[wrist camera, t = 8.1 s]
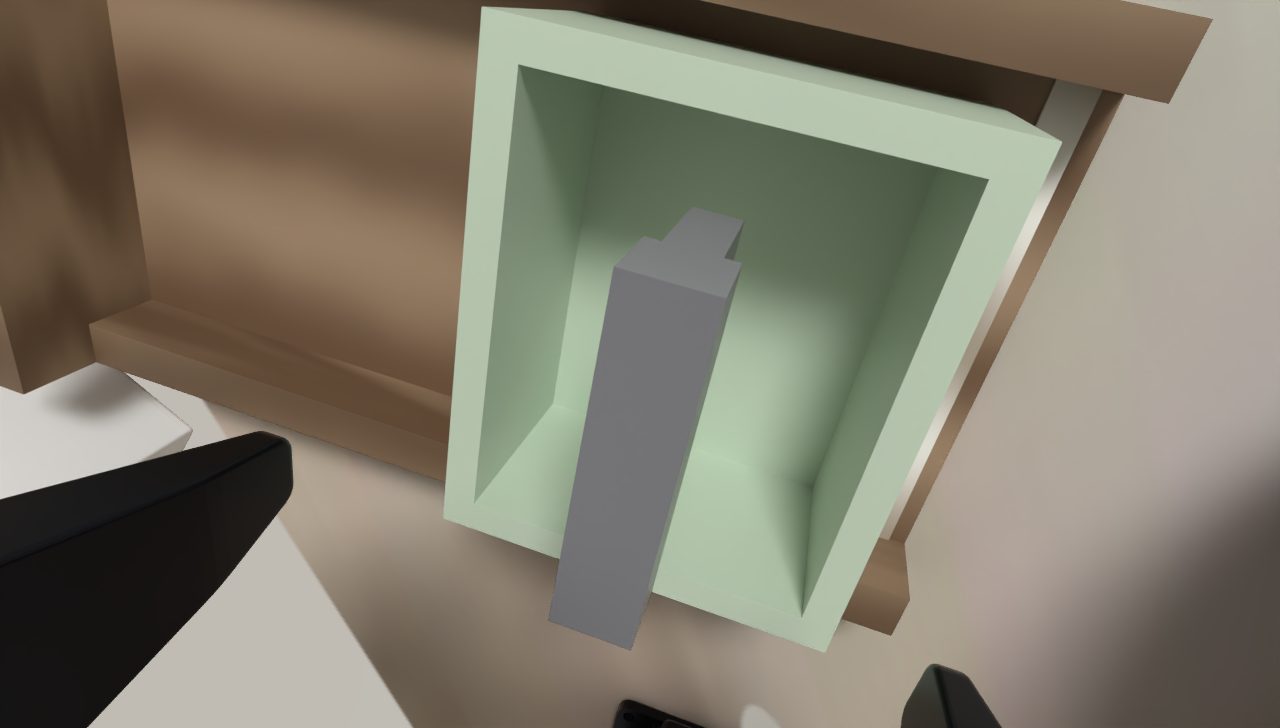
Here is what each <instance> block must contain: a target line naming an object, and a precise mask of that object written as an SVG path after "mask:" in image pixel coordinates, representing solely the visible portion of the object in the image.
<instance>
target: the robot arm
mask: <svg viewBox="0 0 1280 728" xmlns="http://www.w3.org/2000/svg"><path fill="white" fill-rule="evenodd" d="M292 489H293V467H292V449H291V445H290V443H289V441H288V440H286V439H285V438H283V437H280V436H277V435H274V434H271V433H268V432H264V431H257V432H253V433H249V434H245V435H242V436H238V437H234V438H230V439H226V440H223V441H219V442H215V443H211V444H208V445H204V446H200V447H196V448H192V449H188V450H185V451H181V452H177V453H173V454H170V455H166V456H162V457H158V458H154V459H151V460H147V461H143V462H139V463H135V464H132V465H128V466H124V467H120V468H116V469H113V470H109V471H105V472H101V473H97V474H94V475H90V476H86V477H82V478H78V479H75V480H71V481H67V482H63V483H59V484H56V485H52V486H48V487H44V488H40V489H37V490H33V491H29V492H25V493H22V494H18V495H14V496H10V497H6V498H3V499H0V728H87V727H88V726H89V725H90V724H91V723H92V722H93V721H94V720H95V719H96V718H97V717H98V716H99V714H101V712H102V711H103V710H104V709H105V708H106V707H107V706H108V705H109V704H110V703H111V702H112V701H113V700H114V699H115V698H116V697H117V695H118V694H119V693H120V692H121V691H122V690H123V689H124V688H125V687H126V686H127V685H128V684H129V683H130V682H131V681H132V680H133V679H134V678H135V677H136V675H137V674H138V673H139V672H140V671H141V670H142V669H143V668H144V667H145V666H146V665H147V664H148V663H149V662H150V661H151V660H152V659H153V658H154V657H155V655H156V654H157V653H158V652H159V651H160V650H161V649H162V648H163V647H164V646H165V645H166V644H167V643H168V642H169V641H170V640H171V639H172V638H173V636H174V635H175V634H176V633H177V632H178V631H179V630H180V629H181V628H182V627H183V626H184V625H185V624H186V623H187V622H188V621H189V620H190V619H191V617H192V616H193V615H194V614H195V613H196V612H197V611H198V610H199V609H200V608H201V607H202V606H203V605H204V604H205V603H206V601H207V600H208V599H209V598H210V597H211V596H212V595H213V594H214V593H215V592H216V590H217V589H218V588H219V587H220V586H221V585H222V584H223V582H224V581H225V580H226V579H227V577H228V576H229V575H230V574H231V573H232V571H233V570H234V569H235V568H236V566H237V565H238V564H239V562H240V561H241V560H242V558H243V557H244V556H245V555H246V553H247V552H248V551H249V549H250V548H251V547H252V546H253V544H254V543H255V542H256V541H257V539H258V538H259V537H260V535H261V534H262V533H263V532H264V530H265V529H266V528H267V526H268V525H269V524H270V523H271V521H272V520H273V519H274V517H275V516H276V515H277V514H278V512H279V511H280V510H281V508H282V507H283V506H284V505H285V503H286V502H287V500H288V499H289V497H290V495H291V492H292ZM613 728H703V727H701V726H698V725H695V724H693V723H690V722H687V721H685V720H682V719H680V718H677V717H674V716H672V715H669V714H666V713H664V712H661V711H658V710H656V709H653V708H650V707H648V706H645V705H642V704H640V703H637V702H635V701H631V700H625V701H623V702H622V703H621V704H620V707H619V710H618V713H617V717H616V720H615V724H614V727H613ZM901 728H1002V727H1001V726H1000V724H999V723H998V721H997V720H996V718H995V716H994V715H993V713H992V712H991V710H990V709H989V707H988V706H987V704H986V703H985V701H984V700H983V698H982V697H981V695H980V694H979V692H978V691H977V689H976V688H975V686H974V684H973V683H972V681H971V680H970V679H969V678H968V677H967V676H966V675H965V674H964V673H962V672H959V671H957V670H954V669H951V668H948V667H945V666H942V665H939V664H931V665H930V666H928V667H927V669H926V670H925V672H924V673H923V675H922V677H921V679H920V680H919V682H918V684H917V686H916V687H915V689H914V691H913V692H912V694H911V696H910V698H909V699H908V701H907V703H906V705H905V708H904V711H903V715H902V721H901Z"/></svg>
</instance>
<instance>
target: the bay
mask: <svg viewBox="0 0 1280 728" xmlns="http://www.w3.org/2000/svg"><path fill="white" fill-rule="evenodd" d="M482 7H503V8H525V9H546V10H567V11H588V12H594V13H599V14H603V15H608V16H612V17H616V18H621V19H625V20H629V21H634V22H638V23H642V24H647V25H651V26H656V27H660V28H664V29H669V30H673V31H677V32H682V33H686V34H691V35H695V36H699V37H704V38H708V39H712V40H717V41H721V42H726V43H730V44H734V45H739V46H743V47H747V48H752V49H756V50H761V51H765V52H769V53H774V54H778V55H782V56H787V57H791V58H795V59H800V60H804V61H809V62H813V63H817V64H822V65H826V66H830V67H835V68H839V69H844V70H848V71H852V72H857V73H861V74H865V75H870V76H874V77H879V78H883V79H887V80H892V81H896V82H900V83H905V84H909V85H914V86H918V87H922V88H927V89H931V90H935V91H940V92H944V93H948V94H953V95H957V96H962V97H966V98H970V99H975V100H979V101H983V102H988V103H992V104H996V105H998V106H1000V107H1001V108H1003V109H1005V110H1007V111H1008V112H1010V113H1012V114H1014V115H1016V116H1017V117H1019V118H1021V119H1023V120H1024V121H1026V122H1028V123H1030V124H1032V125H1033V126H1035V127H1037V128H1039V129H1040V130H1042V131H1044V132H1046V133H1048V134H1049V135H1051V136H1053V137H1055V138H1056V139H1058V140H1060V141H1062V144H1061V146H1060V148H1059V151H1058V153H1057V155H1056V157H1055V159H1054V161H1053V164H1052V166H1051V168H1050V170H1049V172H1048V174H1047V176H1046V179H1045V181H1044V183H1043V185H1042V187H1041V189H1040V191H1039V194H1038V196H1037V198H1036V200H1035V202H1034V204H1033V207H1032V209H1031V211H1030V213H1029V215H1028V217H1027V219H1026V222H1025V224H1024V226H1023V228H1022V230H1021V232H1020V234H1019V237H1018V239H1017V241H1016V243H1015V245H1014V247H1013V250H1012V252H1011V254H1010V256H1009V258H1008V260H1007V262H1006V265H1005V267H1004V269H1003V271H1002V273H1001V275H1000V278H999V280H998V282H997V284H996V286H995V288H994V290H993V293H992V295H991V297H990V299H989V301H988V303H987V305H986V308H985V310H984V312H983V314H982V316H981V318H980V321H979V323H978V325H977V327H976V329H975V331H974V333H973V336H972V338H971V340H970V342H969V344H968V346H967V348H966V351H965V353H964V355H963V357H962V359H961V361H960V364H959V366H958V368H957V370H956V372H955V374H954V376H953V379H952V381H951V383H950V385H949V387H948V389H947V391H946V394H945V396H944V398H943V400H942V402H941V404H940V407H939V409H938V411H937V413H936V415H935V417H934V419H933V422H932V424H931V426H930V428H929V430H928V432H927V435H926V437H925V439H924V441H923V443H922V445H921V447H920V450H919V452H918V454H917V456H916V458H915V460H914V462H913V465H912V467H911V469H910V471H909V473H908V475H907V478H906V480H905V482H904V484H903V486H902V488H901V490H900V493H899V495H898V497H897V499H896V501H895V503H894V505H893V508H892V510H891V512H890V514H889V516H888V518H887V521H886V523H885V525H884V527H883V529H882V531H881V533H880V536H879V538H878V540H877V542H876V544H875V546H874V548H873V551H872V553H871V555H870V557H869V559H868V561H867V564H866V566H865V568H864V570H863V572H862V574H861V576H860V579H859V581H858V583H857V585H856V587H855V589H854V592H853V594H852V596H851V598H850V600H849V602H848V604H847V607H846V609H845V611H844V613H843V615H842V617H841V619H844V620H847V621H850V622H853V623H856V624H858V625H861V626H864V627H867V628H870V629H873V630H876V631H879V632H882V633H885V634H887V635H890V636H891V635H892V633H893V631H894V629H895V627H896V625H897V624H898V622H899V620H900V618H901V616H902V614H903V612H904V610H905V608H906V606H907V604H908V602H909V601H910V595H909V585H908V575H907V565H906V555H905V545H904V543H905V541H906V539H907V537H908V535H909V533H910V531H911V529H912V527H913V525H914V523H915V521H916V519H917V517H918V515H919V513H920V511H921V509H922V507H923V505H924V502H925V500H926V498H927V496H928V494H929V492H930V490H931V488H932V486H933V484H934V482H935V480H936V478H937V476H938V474H939V472H940V470H941V468H942V466H943V464H944V462H945V460H946V458H947V456H948V454H949V452H950V449H951V447H952V445H953V443H954V441H955V439H956V437H957V435H958V433H959V431H960V429H961V427H962V425H963V423H964V421H965V419H966V417H967V415H968V413H969V411H970V409H971V407H972V405H973V403H974V401H975V399H976V396H977V394H978V392H979V390H980V388H981V386H982V384H983V382H984V380H985V378H986V376H987V374H988V372H989V370H990V368H991V366H992V364H993V362H994V360H995V358H996V356H997V354H998V352H999V350H1000V348H1001V345H1002V343H1003V341H1004V339H1005V337H1006V335H1007V333H1008V331H1009V329H1010V327H1011V325H1012V323H1013V321H1014V319H1015V317H1016V315H1017V313H1018V311H1019V309H1020V307H1021V305H1022V303H1023V301H1024V299H1025V297H1026V295H1027V292H1028V290H1029V288H1030V286H1031V284H1032V282H1033V280H1034V278H1035V276H1036V274H1037V272H1038V270H1039V268H1040V266H1041V264H1042V262H1043V260H1044V258H1045V256H1046V254H1047V252H1048V250H1049V248H1050V246H1051V244H1052V242H1053V239H1054V237H1055V235H1056V233H1057V231H1058V229H1059V227H1060V225H1061V223H1062V221H1063V219H1064V217H1065V215H1066V213H1067V211H1068V209H1069V207H1070V205H1071V203H1072V201H1073V199H1074V197H1075V195H1076V193H1077V191H1078V189H1079V186H1080V184H1081V182H1082V180H1083V178H1084V176H1085V174H1086V172H1087V170H1088V168H1089V166H1090V164H1091V162H1092V160H1093V158H1094V156H1095V154H1096V152H1097V150H1098V148H1099V146H1100V144H1101V142H1102V140H1103V138H1104V136H1105V133H1106V131H1107V129H1108V127H1109V125H1110V123H1111V121H1112V119H1113V117H1114V115H1115V113H1116V111H1117V109H1118V107H1119V105H1120V103H1121V101H1122V99H1123V97H1124V95H1125V94H1127V95H1131V96H1136V97H1140V98H1145V99H1150V100H1154V101H1159V102H1163V103H1168V104H1169V102H1170V100H1171V98H1172V96H1173V95H1174V93H1175V91H1176V89H1177V87H1178V85H1179V83H1180V81H1181V79H1182V77H1183V75H1184V74H1185V72H1186V70H1187V68H1188V66H1189V64H1190V62H1191V60H1192V58H1193V56H1194V54H1195V52H1196V51H1197V49H1198V47H1199V45H1200V43H1201V41H1202V39H1203V37H1204V35H1205V33H1206V31H1207V29H1208V28H1209V26H1210V24H1211V22H1212V20H1213V19H1210V18H1205V17H1200V16H1195V15H1190V14H1185V13H1180V12H1175V11H1170V10H1165V9H1161V8H1156V7H1151V6H1146V5H1141V4H1136V3H1131V2H1126V1H1121V0H0V386H1V387H4V388H7V389H9V390H12V391H15V392H18V393H21V394H23V395H24V394H26V393H29V392H31V391H33V390H35V389H38V388H40V387H42V386H44V385H47V384H49V383H51V382H53V381H56V380H58V379H60V378H62V377H64V376H67V375H69V374H71V373H73V372H76V371H78V370H80V369H82V368H85V367H87V366H89V365H91V364H94V363H96V362H97V363H100V364H103V365H106V366H109V367H111V368H114V369H117V370H120V371H123V372H126V373H129V374H132V375H135V376H138V377H141V378H144V379H146V380H149V381H152V382H155V383H158V384H161V385H164V386H167V387H170V388H172V389H176V390H178V391H181V392H184V393H187V394H190V395H193V396H196V397H199V398H202V399H204V400H207V401H210V402H213V403H216V404H219V405H222V406H225V407H228V408H231V409H233V410H236V411H239V412H242V413H245V414H248V415H251V416H254V417H257V418H260V419H263V420H265V421H268V422H271V423H274V424H277V425H280V426H283V427H286V428H289V429H292V430H295V431H297V432H300V433H303V434H306V435H309V436H312V437H315V438H318V439H321V440H324V441H327V442H329V443H332V444H335V445H338V446H341V447H344V448H347V449H350V450H353V451H356V452H358V453H361V454H364V455H367V456H370V457H373V458H376V459H379V460H382V461H385V462H388V463H390V464H393V465H396V466H399V467H402V468H405V469H408V470H411V471H414V472H417V473H420V474H422V475H425V476H428V477H431V478H434V479H437V480H440V481H443V482H446V471H447V458H448V445H449V432H450V418H451V405H452V392H453V379H454V366H455V353H456V339H457V326H458V313H459V300H460V287H461V273H462V260H463V247H464V234H465V221H466V208H467V194H468V181H469V168H470V155H471V142H472V129H473V115H474V102H475V89H476V76H477V63H478V49H479V36H480V23H481V10H482Z"/></svg>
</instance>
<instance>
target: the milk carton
mask: <svg viewBox="0 0 1280 728" xmlns="http://www.w3.org/2000/svg"><path fill="white" fill-rule="evenodd" d="M192 431H193V430H192V428H191V427H189V426H188V425H187V424H186V423H185V422H184V421H182V420H181V419H180V418H179V417H178V416H176V415H175V414H174V413H173V412H172V411H170V410H169V409H168V408H167V407H166V406H164V405H163V404H162V403H161V402H159V401H158V400H157V399H156V398H154V397H153V396H152V395H151V394H150V393H149V392H147V391H146V390H145V389H144V388H142V387H141V386H140V385H139V384H138V383H136V382H135V381H134V380H133V379H132V378H130V377H129V376H128V375H126V374H125V373H124V372H123V371H120V370H117V369H114V368H111V367H109V366H106V365H103V364H100V363H97V362H96V363H94V364H91V365H89V366H87V367H85V368H82V369H80V370H78V371H76V372H73V373H71V374H69V375H67V376H64V377H62V378H60V379H58V380H56V381H53V382H51V383H49V384H47V385H44V386H42V387H40V388H38V389H35V390H33V391H31V392H29V393H26V394H24V395H23V394H21V393H18V392H15V391H12V390H9V389H7V388H4V387H1V386H0V499H3V498H6V497H10V496H14V495H18V494H22V493H25V492H29V491H33V490H37V489H40V488H44V487H48V486H52V485H56V484H59V483H63V482H67V481H71V480H75V479H78V478H82V477H86V476H90V475H94V474H97V473H101V472H105V471H109V470H113V469H116V468H120V467H124V466H128V465H132V464H135V463H139V462H143V461H147V460H151V459H154V458H158V457H162V456H166V455H170V454H173V453H177V452H181V451H183V449H184V447H185V445H186V443H187V441H188V440H189V438H190V436H191V434H192Z"/></svg>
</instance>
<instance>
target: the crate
mask: <svg viewBox="0 0 1280 728" xmlns="http://www.w3.org/2000/svg"><path fill="white" fill-rule="evenodd" d="M1061 144H1062V141H1060V140H1058V139H1056V138H1055V137H1053V136H1051V135H1049V134H1048V133H1046V132H1044V131H1042V130H1040V129H1039V128H1037V127H1035V126H1033V125H1032V124H1030V123H1028V122H1026V121H1024V120H1023V119H1021V118H1019V117H1017V116H1016V115H1014V114H1012V113H1010V112H1008V111H1007V110H1005V109H1003V108H1001V107H1000V106H998V105H996V104H992V103H988V102H983V101H979V100H975V99H970V98H966V97H962V96H957V95H953V94H948V93H944V92H940V91H935V90H931V89H927V88H922V87H918V86H914V85H909V84H905V83H900V82H896V81H892V80H887V79H883V78H879V77H874V76H870V75H865V74H861V73H857V72H852V71H848V70H844V69H839V68H835V67H830V66H826V65H822V64H817V63H813V62H809V61H804V60H800V59H795V58H791V57H787V56H782V55H778V54H774V53H769V52H765V51H761V50H756V49H752V48H747V47H743V46H739V45H734V44H730V43H726V42H721V41H717V40H712V39H708V38H704V37H699V36H695V35H691V34H686V33H682V32H677V31H673V30H669V29H664V28H660V27H656V26H651V25H647V24H642V23H638V22H634V21H629V20H625V19H621V18H616V17H612V16H608V15H603V14H599V13H594V12H588V11H567V10H546V9H525V8H503V7H482V10H481V23H480V36H479V49H478V63H477V76H476V89H475V102H474V115H473V129H472V142H471V155H470V168H469V181H468V194H467V208H466V221H465V234H464V247H463V260H462V273H461V287H460V300H459V313H458V326H457V339H456V353H455V366H454V379H453V392H452V405H451V418H450V432H449V445H448V458H447V471H446V484H445V498H444V511H443V518H444V519H446V520H449V521H452V522H455V523H458V524H461V525H463V526H466V527H469V528H472V529H475V530H478V531H480V532H483V533H486V534H489V535H492V536H495V537H497V538H500V539H503V540H506V541H509V542H512V543H514V544H517V545H520V546H523V547H526V548H529V549H532V550H534V551H537V552H540V553H543V554H546V555H549V556H551V557H554V558H557V559H560V560H559V565H558V571H557V576H556V582H555V587H554V592H553V598H552V603H551V609H550V614H549V619H548V620H549V621H551V622H554V623H557V624H560V625H562V626H565V627H568V628H571V629H573V630H576V631H579V632H581V633H584V634H587V635H590V636H592V637H595V638H598V639H601V640H603V641H606V642H609V643H611V644H614V645H617V646H620V647H622V648H625V649H628V650H631V649H632V646H633V643H634V640H635V637H636V634H637V632H638V629H639V626H640V623H641V620H642V618H643V615H644V612H645V609H646V606H647V603H648V601H649V598H650V595H651V592H654V593H656V594H659V595H662V596H665V597H668V598H671V599H673V600H676V601H679V602H682V603H685V604H688V605H690V606H693V607H696V608H699V609H702V610H705V611H707V612H710V613H713V614H716V615H719V616H722V617H724V618H727V619H730V620H733V621H736V622H739V623H741V624H744V625H747V626H750V627H753V628H756V629H759V630H761V631H764V632H767V633H770V634H773V635H776V636H778V637H781V638H784V639H787V640H790V641H793V642H795V643H798V644H801V645H804V646H807V647H810V648H812V649H815V650H818V651H821V652H824V653H825V652H826V650H827V647H828V645H829V643H830V641H831V639H832V637H833V635H834V632H835V630H836V628H837V626H838V624H839V622H840V619H841V617H842V615H843V613H844V611H845V609H846V607H847V604H848V602H849V600H850V598H851V596H852V594H853V592H854V589H855V587H856V585H857V583H858V581H859V579H860V576H861V574H862V572H863V570H864V568H865V566H866V564H867V561H868V559H869V557H870V555H871V553H872V551H873V548H874V546H875V544H876V542H877V540H878V538H879V536H880V533H881V531H882V529H883V527H884V525H885V523H886V521H887V518H888V516H889V514H890V512H891V510H892V508H893V505H894V503H895V501H896V499H897V497H898V495H899V493H900V490H901V488H902V486H903V484H904V482H905V480H906V478H907V475H908V473H909V471H910V469H911V467H912V465H913V462H914V460H915V458H916V456H917V454H918V452H919V450H920V447H921V445H922V443H923V441H924V439H925V437H926V435H927V432H928V430H929V428H930V426H931V424H932V422H933V419H934V417H935V415H936V413H937V411H938V409H939V407H940V404H941V402H942V400H943V398H944V396H945V394H946V391H947V389H948V387H949V385H950V383H951V381H952V379H953V376H954V374H955V372H956V370H957V368H958V366H959V364H960V361H961V359H962V357H963V355H964V353H965V351H966V348H967V346H968V344H969V342H970V340H971V338H972V336H973V333H974V331H975V329H976V327H977V325H978V323H979V321H980V318H981V316H982V314H983V312H984V310H985V308H986V305H987V303H988V301H989V299H990V297H991V295H992V293H993V290H994V288H995V286H996V284H997V282H998V280H999V278H1000V275H1001V273H1002V271H1003V269H1004V267H1005V265H1006V262H1007V260H1008V258H1009V256H1010V254H1011V252H1012V250H1013V247H1014V245H1015V243H1016V241H1017V239H1018V237H1019V234H1020V232H1021V230H1022V228H1023V226H1024V224H1025V222H1026V219H1027V217H1028V215H1029V213H1030V211H1031V209H1032V207H1033V204H1034V202H1035V200H1036V198H1037V196H1038V194H1039V191H1040V189H1041V187H1042V185H1043V183H1044V181H1045V179H1046V176H1047V174H1048V172H1049V170H1050V168H1051V166H1052V164H1053V161H1054V159H1055V157H1056V155H1057V153H1058V151H1059V148H1060V146H1061Z"/></svg>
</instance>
